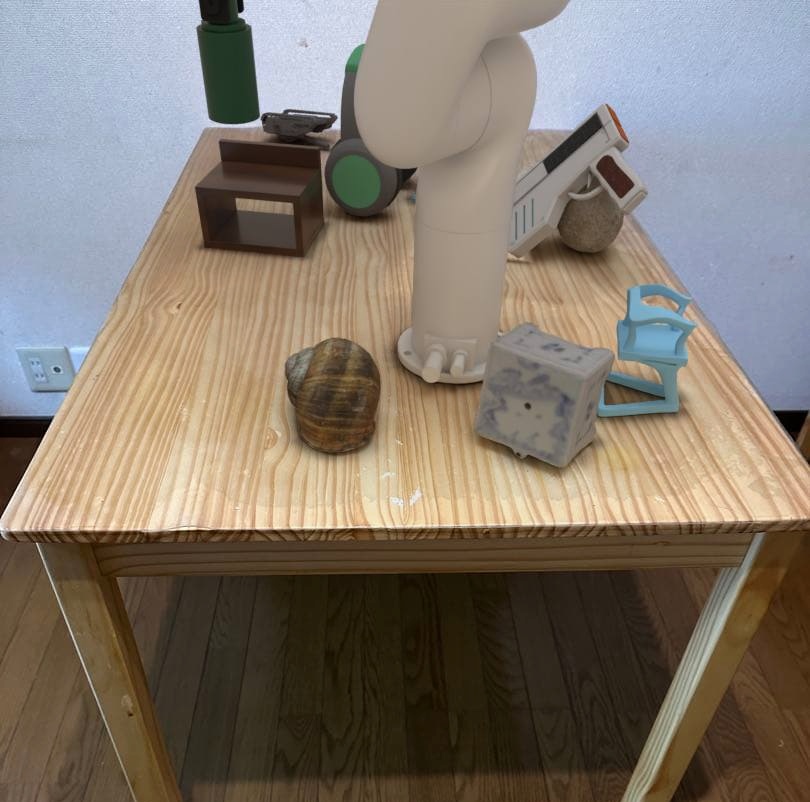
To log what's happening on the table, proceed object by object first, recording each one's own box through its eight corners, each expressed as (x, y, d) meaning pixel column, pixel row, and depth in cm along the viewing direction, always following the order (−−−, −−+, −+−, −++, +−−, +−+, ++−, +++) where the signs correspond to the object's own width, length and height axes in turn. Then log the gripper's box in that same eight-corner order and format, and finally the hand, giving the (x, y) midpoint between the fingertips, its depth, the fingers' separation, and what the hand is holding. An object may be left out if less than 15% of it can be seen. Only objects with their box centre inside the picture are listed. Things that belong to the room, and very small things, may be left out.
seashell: (292, 389, 82) (285, 319, 77) (381, 389, 82) (381, 320, 77) (282, 455, 74) (273, 383, 69) (380, 455, 74) (380, 383, 69)
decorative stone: (547, 233, 111) (558, 159, 104) (606, 234, 111) (621, 160, 104) (557, 265, 104) (569, 188, 97) (620, 266, 104) (637, 189, 97)
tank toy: (312, 117, 129) (313, 152, 132) (342, 112, 136) (343, 145, 138) (253, 112, 133) (256, 146, 136) (285, 107, 140) (287, 139, 143)
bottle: (251, 126, 90) (234, -40, 79) (201, 122, 91) (177, -43, 80) (266, 110, 94) (251, -49, 84) (218, 107, 95) (197, -52, 84)
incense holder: (598, 435, 77) (621, 341, 70) (562, 479, 72) (582, 383, 65) (510, 402, 81) (523, 310, 74) (470, 442, 76) (479, 347, 69)
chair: (679, 425, 79) (714, 316, 70) (596, 416, 80) (621, 307, 71) (674, 384, 84) (706, 278, 76) (596, 375, 85) (618, 270, 77)
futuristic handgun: (525, 299, 104) (494, 215, 110) (656, 198, 92) (614, 108, 98) (513, 293, 102) (482, 207, 108) (645, 188, 91) (603, 97, 96)
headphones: (361, 172, 127) (358, 28, 113) (426, 180, 125) (431, 34, 111) (321, 216, 114) (312, 60, 100) (393, 226, 112) (394, 67, 98)
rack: (303, 257, 105) (297, 175, 98) (204, 247, 107) (191, 166, 99) (324, 224, 113) (320, 146, 105) (231, 215, 114) (220, 138, 107)
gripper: (188, -219, 79) (215, -1, 92) (120, -218, 67) (161, 31, 80) (260, -216, 78) (277, 3, 91) (204, -215, 66) (232, 36, 79)
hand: (223, 14), depth 85 cm, fingers closed on bottle, 3 cm apart
